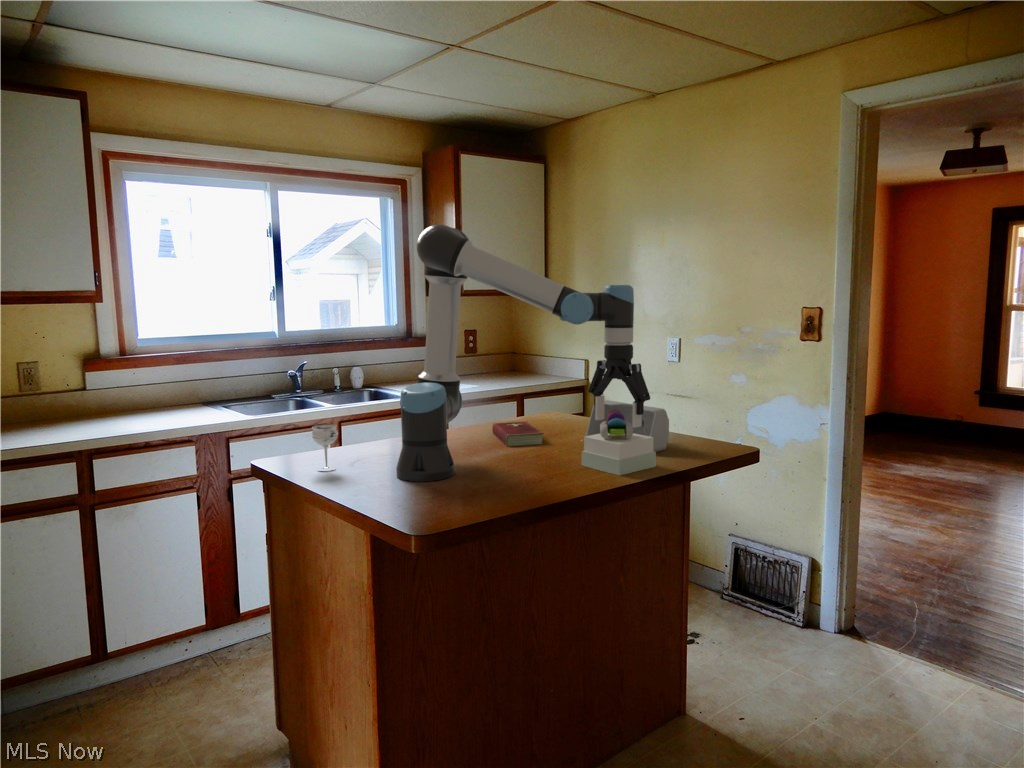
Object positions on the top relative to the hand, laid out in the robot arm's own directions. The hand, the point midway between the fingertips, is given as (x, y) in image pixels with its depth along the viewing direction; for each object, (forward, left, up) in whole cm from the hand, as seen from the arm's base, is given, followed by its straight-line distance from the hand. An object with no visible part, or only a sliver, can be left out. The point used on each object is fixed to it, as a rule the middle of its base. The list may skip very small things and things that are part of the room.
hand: (617, 423), depth 186 cm
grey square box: (0, 0, -12) cm, 12 cm away
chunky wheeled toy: (-1, 0, -4) cm, 4 cm away
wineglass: (-62, +49, -12) cm, 80 cm away
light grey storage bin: (+23, +16, -12) cm, 30 cm away
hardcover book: (+2, +47, -12) cm, 48 cm away
